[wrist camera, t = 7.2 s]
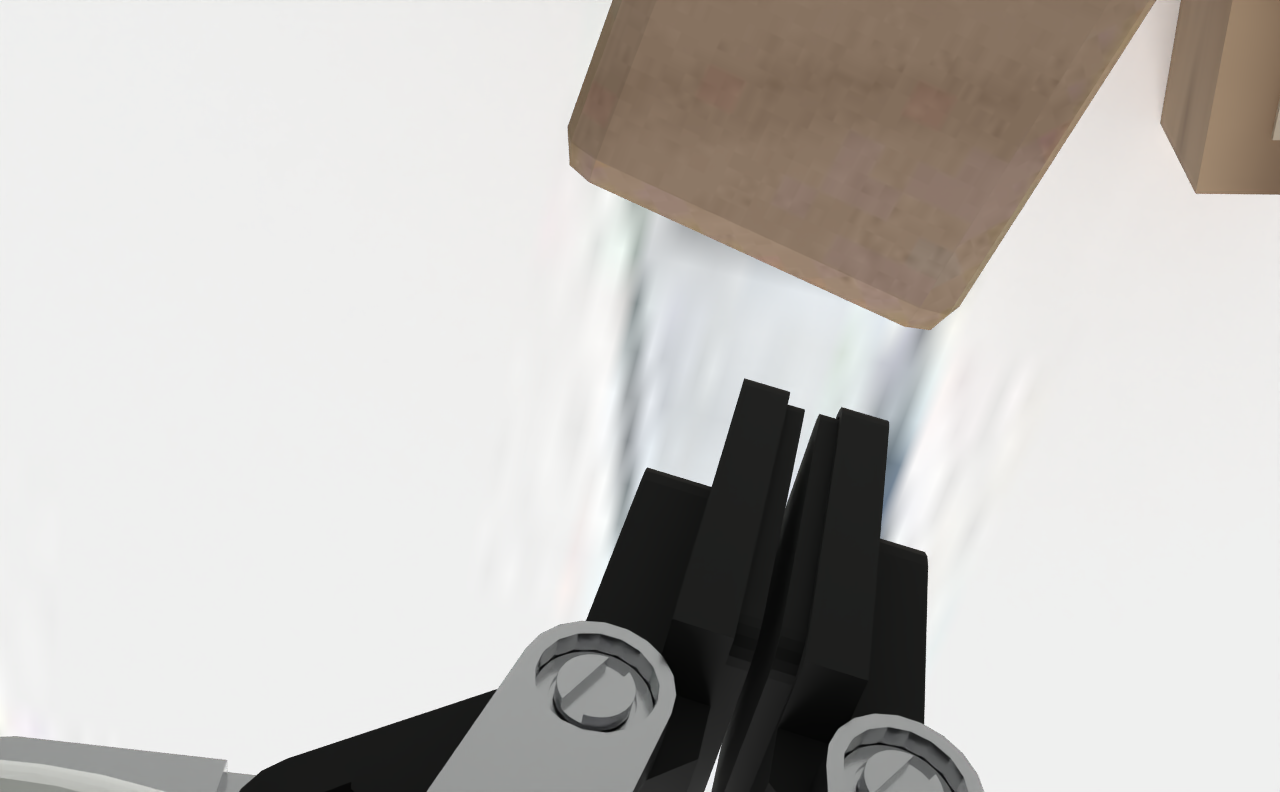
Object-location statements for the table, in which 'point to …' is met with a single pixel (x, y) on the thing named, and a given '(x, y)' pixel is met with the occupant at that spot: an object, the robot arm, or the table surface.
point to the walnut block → (1226, 95)
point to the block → (845, 128)
